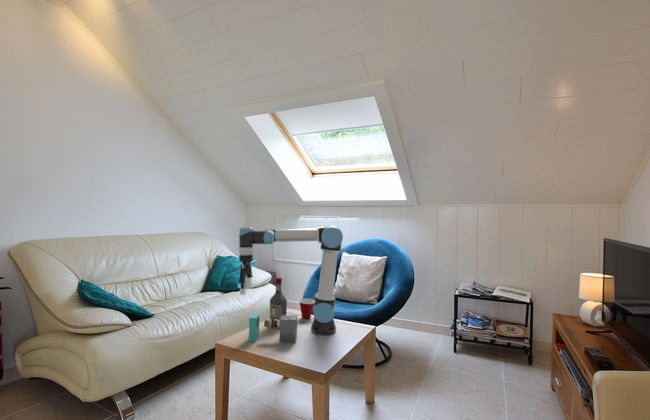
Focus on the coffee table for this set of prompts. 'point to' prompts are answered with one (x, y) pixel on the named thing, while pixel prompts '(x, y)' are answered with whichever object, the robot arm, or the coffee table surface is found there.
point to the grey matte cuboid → (288, 328)
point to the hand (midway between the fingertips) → (245, 291)
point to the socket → (253, 327)
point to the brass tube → (272, 323)
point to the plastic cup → (306, 307)
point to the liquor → (278, 302)
